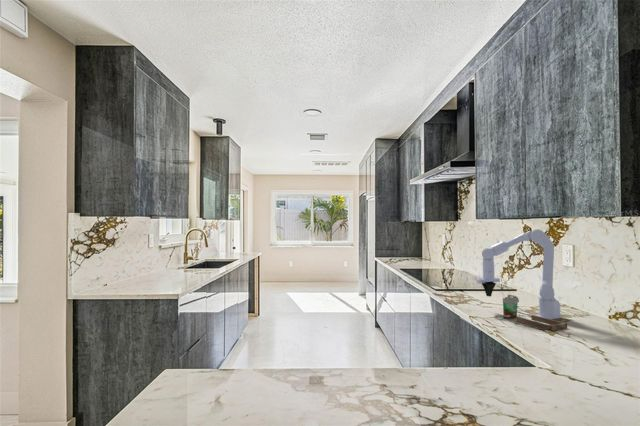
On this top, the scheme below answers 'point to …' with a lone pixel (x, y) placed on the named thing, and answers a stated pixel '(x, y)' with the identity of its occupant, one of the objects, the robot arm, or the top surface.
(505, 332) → the top surface
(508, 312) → the food container
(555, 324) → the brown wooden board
